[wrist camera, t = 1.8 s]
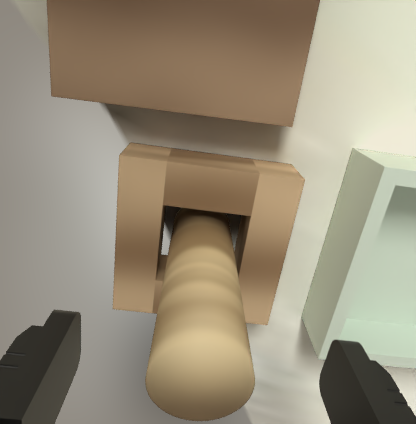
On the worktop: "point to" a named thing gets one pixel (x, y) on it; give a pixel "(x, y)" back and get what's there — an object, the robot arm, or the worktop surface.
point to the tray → (369, 263)
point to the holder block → (210, 201)
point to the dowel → (200, 324)
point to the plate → (183, 55)
